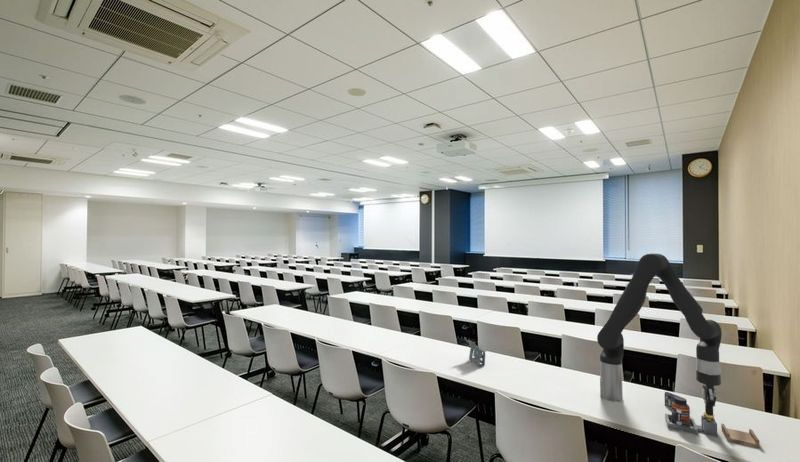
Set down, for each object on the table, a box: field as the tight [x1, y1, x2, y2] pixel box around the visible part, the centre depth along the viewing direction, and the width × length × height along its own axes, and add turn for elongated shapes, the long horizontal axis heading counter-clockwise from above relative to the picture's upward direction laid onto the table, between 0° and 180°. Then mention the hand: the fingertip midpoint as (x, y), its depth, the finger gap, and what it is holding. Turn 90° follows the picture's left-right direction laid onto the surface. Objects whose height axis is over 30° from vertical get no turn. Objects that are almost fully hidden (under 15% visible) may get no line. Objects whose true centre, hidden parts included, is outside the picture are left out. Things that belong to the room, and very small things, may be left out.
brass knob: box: [703, 411, 715, 421], centre depth 143 cm, size 3×3×6 cm
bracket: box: [463, 336, 487, 367], centre depth 223 cm, size 13×10×15 cm
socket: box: [664, 413, 718, 438], centre depth 146 cm, size 16×10×5 cm, turn 58°
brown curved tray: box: [720, 423, 761, 449], centre depth 138 cm, size 9×9×3 cm
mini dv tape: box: [664, 391, 681, 409], centre depth 163 cm, size 8×2×6 cm, turn 21°
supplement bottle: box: [671, 396, 691, 427], centre depth 148 cm, size 6×6×11 cm
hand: (709, 414), depth 143 cm, fingers closed
